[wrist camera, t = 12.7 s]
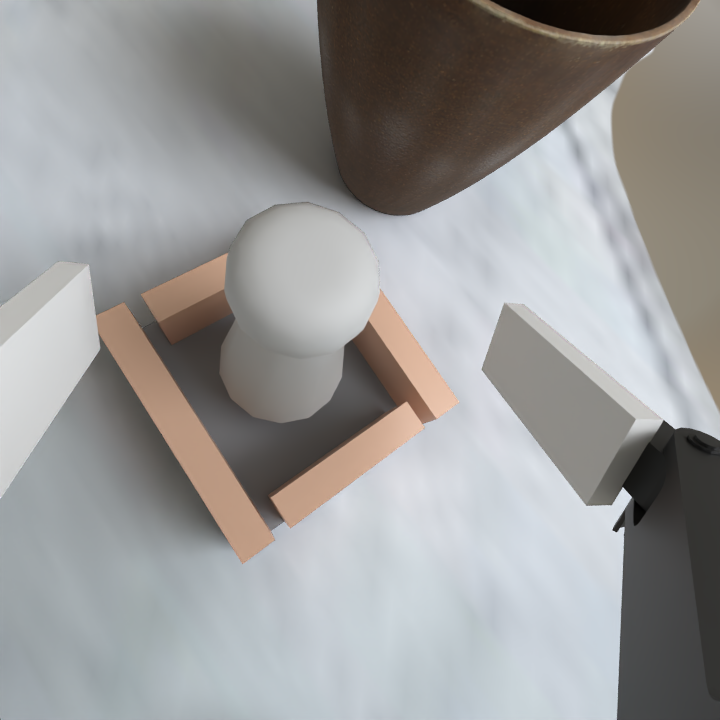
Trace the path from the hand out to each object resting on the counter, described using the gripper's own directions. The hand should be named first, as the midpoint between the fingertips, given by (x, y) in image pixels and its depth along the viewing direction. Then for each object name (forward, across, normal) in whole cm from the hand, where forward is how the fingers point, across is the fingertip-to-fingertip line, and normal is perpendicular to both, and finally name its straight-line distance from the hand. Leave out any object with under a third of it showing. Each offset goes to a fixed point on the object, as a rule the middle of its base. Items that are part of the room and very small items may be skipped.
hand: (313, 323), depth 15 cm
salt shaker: (+7, 0, -7) cm, 10 cm away
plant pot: (+19, +7, +3) cm, 20 cm away
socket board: (+8, 0, -8) cm, 11 cm away
